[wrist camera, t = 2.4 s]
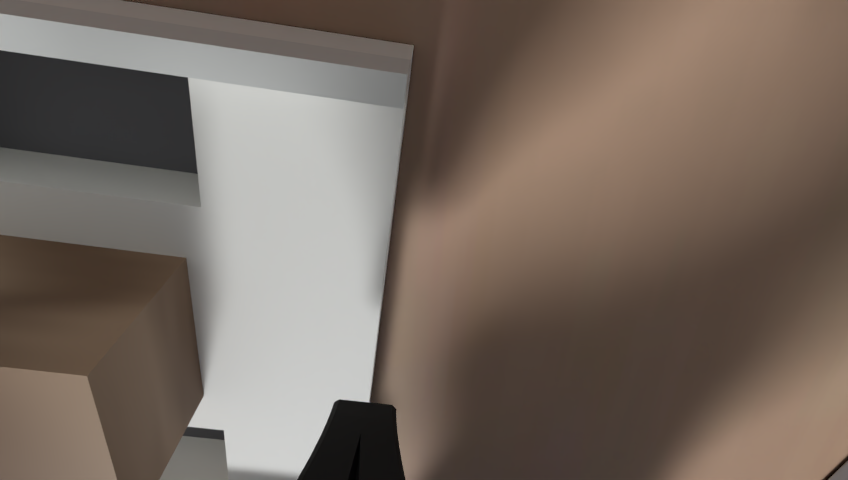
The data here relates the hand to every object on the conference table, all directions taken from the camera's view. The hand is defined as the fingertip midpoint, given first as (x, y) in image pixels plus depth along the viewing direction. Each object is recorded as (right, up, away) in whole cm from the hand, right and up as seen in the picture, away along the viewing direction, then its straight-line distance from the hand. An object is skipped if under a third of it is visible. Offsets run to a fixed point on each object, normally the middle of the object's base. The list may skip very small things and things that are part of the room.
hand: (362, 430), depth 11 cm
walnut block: (-8, +2, +2) cm, 8 cm away
